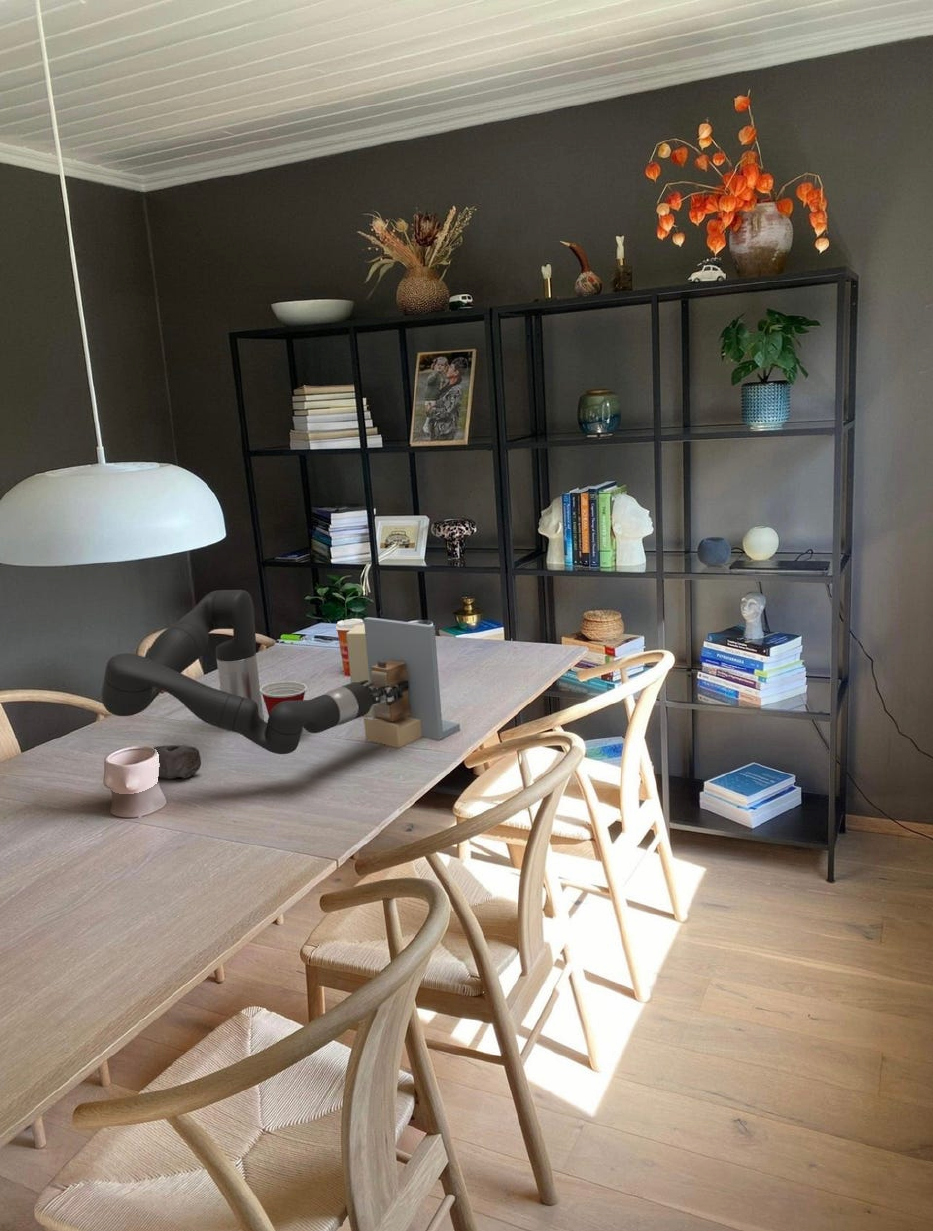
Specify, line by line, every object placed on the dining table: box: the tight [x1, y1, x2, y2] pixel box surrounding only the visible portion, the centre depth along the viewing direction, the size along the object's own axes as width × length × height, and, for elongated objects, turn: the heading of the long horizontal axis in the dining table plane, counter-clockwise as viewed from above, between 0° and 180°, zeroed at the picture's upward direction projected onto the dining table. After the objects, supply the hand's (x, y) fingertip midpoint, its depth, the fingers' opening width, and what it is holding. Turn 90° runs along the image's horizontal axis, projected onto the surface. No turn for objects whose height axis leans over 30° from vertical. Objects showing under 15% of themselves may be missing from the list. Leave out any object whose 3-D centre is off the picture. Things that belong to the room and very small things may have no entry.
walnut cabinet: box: [371, 660, 410, 722], centre depth 209 cm, size 6×5×13 cm
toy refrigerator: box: [346, 625, 373, 717], centre depth 229 cm, size 8×7×21 cm
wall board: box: [363, 616, 461, 749], centre depth 211 cm, size 15×20×26 cm
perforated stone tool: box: [152, 744, 202, 780], centre depth 198 cm, size 15×5×7 cm, turn 73°
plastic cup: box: [259, 680, 308, 716], centre depth 217 cm, size 11×11×12 cm
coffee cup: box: [335, 618, 364, 677], centre depth 263 cm, size 8×8×15 cm
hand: (398, 683), depth 211 cm, fingers closed on walnut cabinet, 5 cm apart
